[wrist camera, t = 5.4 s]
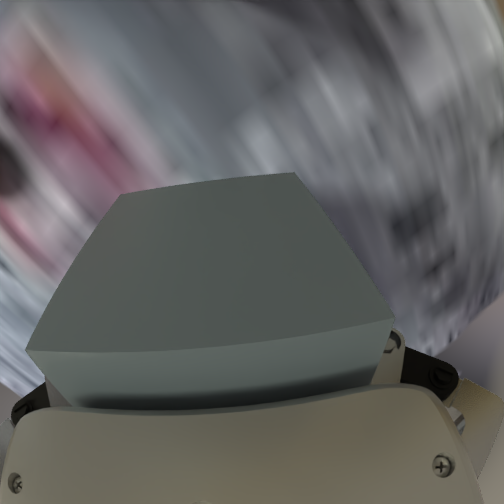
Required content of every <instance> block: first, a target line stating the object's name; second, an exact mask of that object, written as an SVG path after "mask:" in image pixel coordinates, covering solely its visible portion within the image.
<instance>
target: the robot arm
mask: <svg viewBox="0 0 504 504" xmlns="http://www.w3.org/2000/svg"><path fill="white" fill-rule="evenodd" d="M503 417H504V402H503V401H502V399H501V398H500V397H498V396H497V395H495V394H493V393H491V392H490V391H488V390H486V389H484V388H482V387H480V386H479V385H477V384H475V383H473V382H471V381H470V380H467V379H466V378H464V379H463V380H461V379H460V378H459V376H458V373H457V371H456V369H455V368H454V367H453V366H452V365H450V364H448V363H447V362H444V361H441V360H439V359H436V358H434V357H431V356H429V355H426V354H424V353H421V352H418V351H416V350H413V349H411V348H408V347H406V346H405V339H404V337H403V335H402V334H401V333H400V332H399V331H398V330H396V329H395V328H392V330H391V332H390V335H389V338H388V341H387V343H386V346H385V349H384V351H383V354H382V357H381V359H380V362H379V364H378V367H377V369H376V371H375V374H374V376H373V379H372V381H371V383H370V385H366V386H361V387H356V388H350V389H346V390H341V391H336V392H331V393H326V394H320V395H315V396H309V397H303V398H298V399H291V400H285V401H278V402H271V403H263V404H255V405H246V406H236V407H225V408H212V409H194V410H119V409H100V408H85V407H73V406H72V405H71V404H70V403H69V402H68V401H67V400H66V399H65V398H64V397H63V396H62V395H61V393H60V392H59V391H58V390H57V389H56V388H55V387H54V386H53V384H52V383H51V382H50V381H49V380H48V379H47V377H46V376H45V382H44V383H43V384H41V385H40V386H39V387H37V388H36V389H34V390H33V391H32V392H30V393H29V394H28V395H26V396H25V397H23V398H22V399H21V400H19V401H18V402H17V403H16V404H15V406H14V407H13V409H12V413H11V420H10V419H9V418H7V419H6V420H5V421H4V422H3V423H2V424H1V425H0V504H484V502H483V498H482V494H481V490H480V487H479V484H478V481H477V479H478V477H479V475H480V473H481V471H482V469H483V467H484V465H485V463H486V460H487V458H488V456H489V454H490V451H491V449H492V447H493V444H494V442H495V439H496V437H497V434H498V431H499V429H500V426H501V423H502V420H503Z"/></svg>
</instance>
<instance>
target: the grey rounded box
mask: <svg viewBox="0 0 504 504" xmlns="http://www.w3.org/2000/svg"><path fill="white" fill-rule="evenodd" d="M395 318H396V317H395V316H394V314H393V312H392V311H391V309H390V307H389V306H388V304H387V303H386V301H385V299H384V298H383V296H382V295H381V293H380V292H379V290H378V288H377V287H376V285H375V284H374V282H373V281H372V279H371V278H370V276H369V275H368V273H367V272H366V270H365V269H364V267H363V266H362V264H361V263H360V261H359V260H358V258H357V257H356V255H355V254H354V252H353V251H352V249H351V248H350V247H349V245H348V244H347V242H346V241H345V239H344V238H343V237H342V235H341V234H340V232H339V231H338V230H337V228H336V227H335V225H334V224H333V223H332V221H331V220H330V219H329V217H328V216H327V214H326V213H325V212H324V210H323V209H322V208H321V206H320V205H319V204H318V202H317V201H316V200H315V198H314V197H313V196H312V194H311V193H310V192H309V190H308V189H307V188H306V187H305V185H304V184H303V183H302V181H301V180H300V179H299V178H298V176H297V175H296V174H295V172H293V173H280V174H269V175H258V176H247V177H238V178H229V179H220V180H212V181H204V182H196V183H189V184H182V185H175V186H168V187H162V188H156V189H150V190H144V191H138V192H132V193H126V194H121V195H120V196H119V197H118V198H117V200H116V201H115V202H114V204H113V205H112V206H111V208H110V209H109V210H108V212H107V213H106V215H105V216H104V217H103V219H102V220H101V221H100V223H99V224H98V226H97V227H96V228H95V230H94V231H93V233H92V234H91V236H90V237H89V239H88V240H87V242H86V243H85V245H84V246H83V248H82V249H81V251H80V252H79V254H78V255H77V257H76V258H75V260H74V261H73V263H72V265H71V266H70V268H69V269H68V271H67V273H66V274H65V276H64V278H63V279H62V281H61V283H60V284H59V286H58V288H57V289H56V291H55V293H54V295H53V296H52V298H51V300H50V302H49V304H48V305H47V307H46V309H45V311H44V313H43V315H42V317H41V318H40V320H39V322H38V324H37V326H36V328H35V330H34V332H33V334H32V336H31V338H30V340H29V342H28V345H27V347H26V349H25V351H26V352H27V354H28V355H29V356H30V358H31V359H32V360H33V361H34V363H35V364H36V365H37V366H38V368H39V369H40V370H41V371H42V373H43V374H44V375H45V376H46V377H47V379H48V380H49V381H50V382H51V383H52V384H53V386H54V387H55V388H56V389H57V390H58V391H59V392H60V393H61V395H62V396H63V397H64V398H65V399H66V400H67V401H68V402H69V403H70V404H71V405H72V406H73V407H85V408H100V409H119V410H194V409H212V408H225V407H236V406H246V405H255V404H263V403H271V402H278V401H285V400H291V399H298V398H303V397H309V396H315V395H320V394H326V393H331V392H336V391H341V390H346V389H350V388H356V387H361V386H366V385H370V383H371V381H372V379H373V376H374V374H375V371H376V369H377V367H378V364H379V362H380V359H381V357H382V354H383V351H384V349H385V346H386V343H387V341H388V338H389V335H390V332H391V330H392V327H393V324H394V321H395Z"/></svg>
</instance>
